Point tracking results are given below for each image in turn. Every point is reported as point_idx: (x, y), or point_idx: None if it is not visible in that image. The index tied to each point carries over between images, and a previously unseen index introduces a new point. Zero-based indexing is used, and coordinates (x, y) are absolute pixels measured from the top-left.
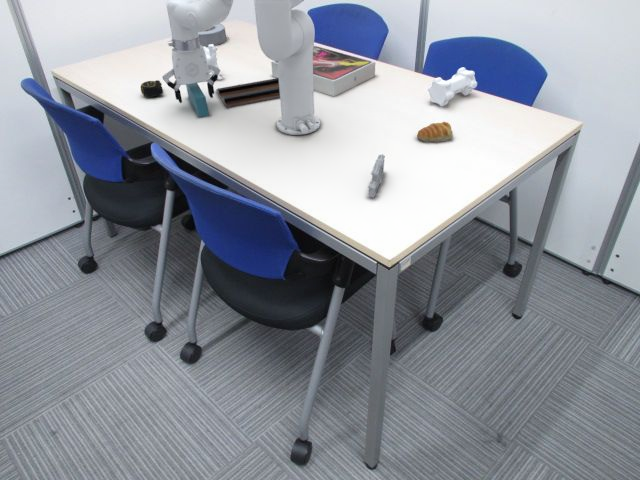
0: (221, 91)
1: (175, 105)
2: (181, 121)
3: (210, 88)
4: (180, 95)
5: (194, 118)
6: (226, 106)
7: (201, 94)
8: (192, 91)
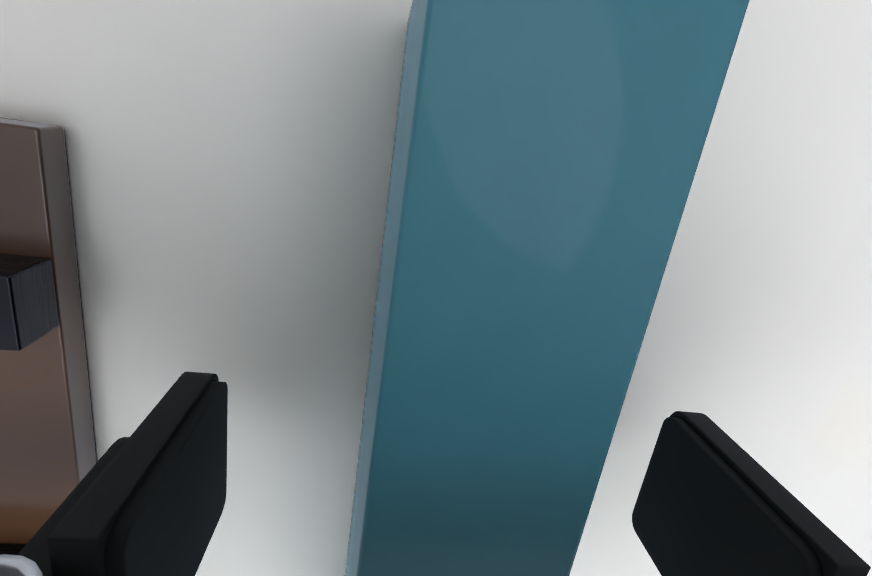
0: None
1: (617, 509)
2: (782, 71)
3: (125, 484)
4: (749, 493)
5: None
6: (57, 151)
7: (477, 175)
8: (582, 472)
